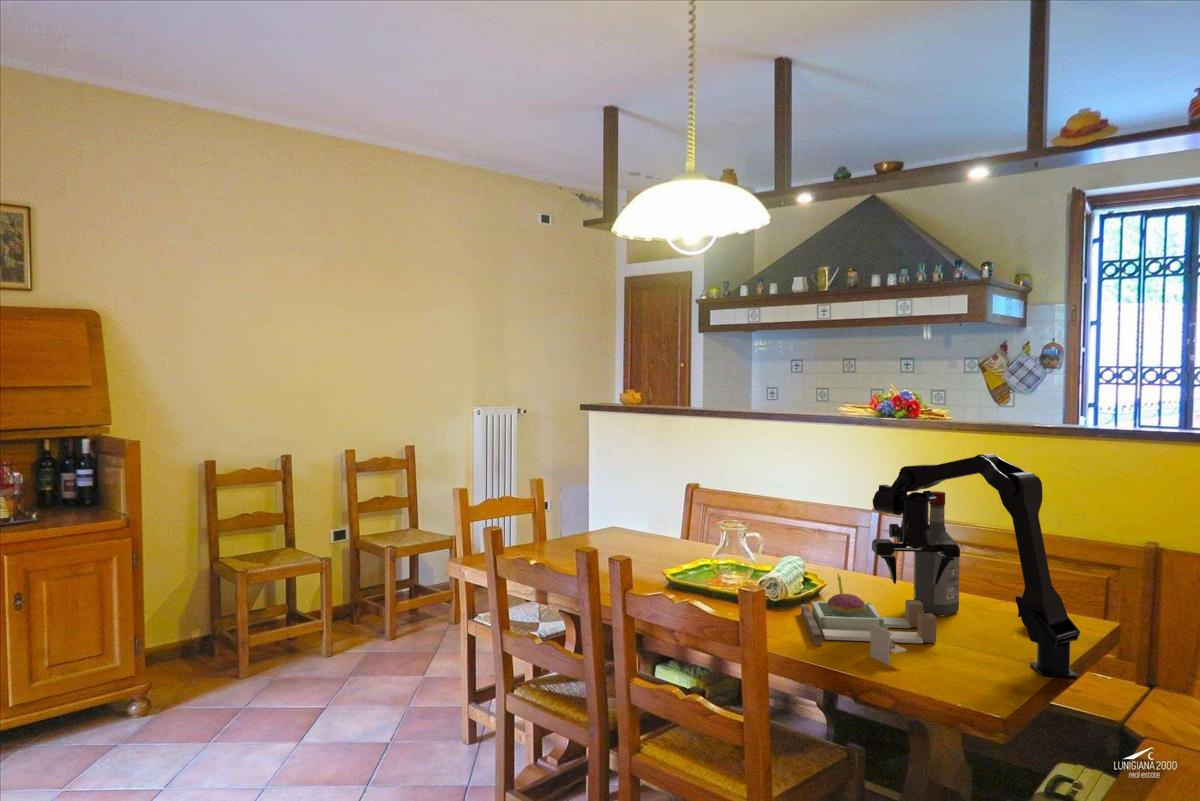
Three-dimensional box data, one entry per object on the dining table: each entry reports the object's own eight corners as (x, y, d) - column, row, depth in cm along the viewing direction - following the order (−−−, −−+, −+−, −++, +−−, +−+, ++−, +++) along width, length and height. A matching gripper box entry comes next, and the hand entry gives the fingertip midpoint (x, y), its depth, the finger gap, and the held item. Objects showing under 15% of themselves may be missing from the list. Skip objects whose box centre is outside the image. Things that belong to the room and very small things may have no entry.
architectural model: (882, 656, 166) (882, 621, 166) (906, 667, 160) (906, 631, 159) (869, 658, 165) (869, 623, 164) (892, 669, 158) (893, 633, 158)
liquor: (963, 611, 196) (965, 493, 195) (941, 617, 191) (942, 496, 190) (931, 603, 203) (932, 488, 202) (908, 608, 198) (910, 491, 198)
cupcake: (824, 626, 184) (824, 575, 184) (831, 616, 192) (832, 568, 192) (862, 631, 180) (862, 580, 180) (867, 621, 188) (868, 572, 188)
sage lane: (928, 634, 177) (929, 610, 177) (819, 630, 181) (819, 606, 180) (912, 616, 191) (913, 594, 191) (811, 612, 194) (811, 590, 194)
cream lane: (937, 643, 171) (937, 619, 171) (824, 639, 174) (825, 615, 174) (930, 636, 176) (930, 612, 176) (821, 632, 179) (821, 608, 179)
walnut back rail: (821, 645, 171) (821, 635, 171) (814, 645, 171) (814, 634, 171) (807, 614, 194) (807, 604, 194) (800, 613, 194) (801, 604, 194)
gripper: (946, 513, 190) (945, 576, 191) (867, 511, 193) (866, 574, 193) (961, 521, 179) (960, 588, 180) (877, 519, 182) (876, 586, 182)
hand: (914, 584), depth 184 cm, fingers open, 9 cm apart
